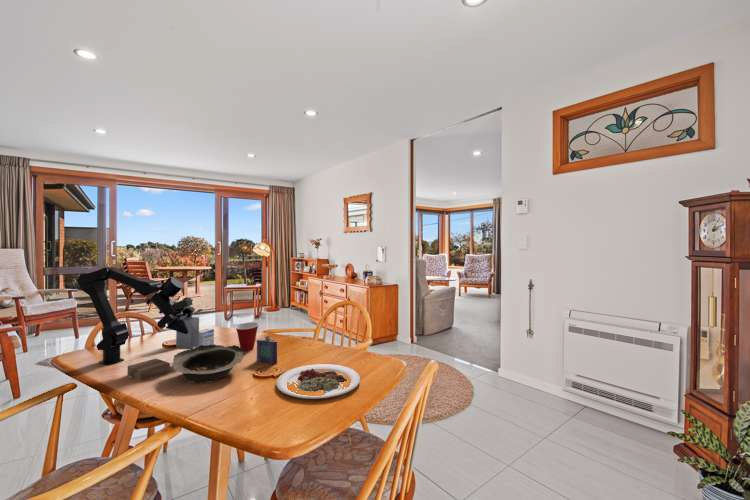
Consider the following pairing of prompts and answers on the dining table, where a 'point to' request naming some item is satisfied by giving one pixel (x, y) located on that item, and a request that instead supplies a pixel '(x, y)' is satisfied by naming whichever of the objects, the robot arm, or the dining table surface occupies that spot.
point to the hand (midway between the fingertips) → (191, 331)
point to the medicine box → (206, 337)
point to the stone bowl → (207, 362)
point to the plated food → (318, 380)
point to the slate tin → (192, 336)
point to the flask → (267, 350)
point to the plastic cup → (247, 335)
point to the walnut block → (148, 369)
